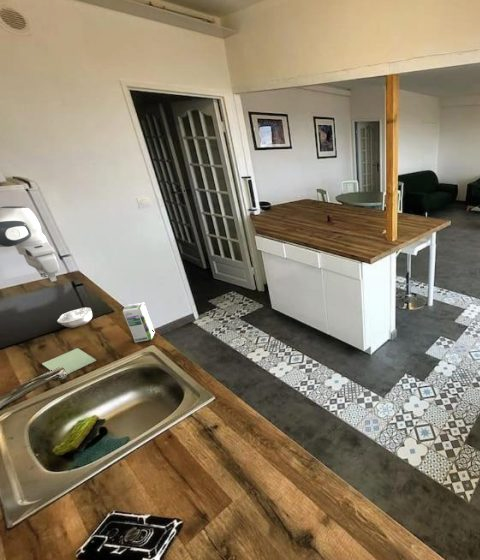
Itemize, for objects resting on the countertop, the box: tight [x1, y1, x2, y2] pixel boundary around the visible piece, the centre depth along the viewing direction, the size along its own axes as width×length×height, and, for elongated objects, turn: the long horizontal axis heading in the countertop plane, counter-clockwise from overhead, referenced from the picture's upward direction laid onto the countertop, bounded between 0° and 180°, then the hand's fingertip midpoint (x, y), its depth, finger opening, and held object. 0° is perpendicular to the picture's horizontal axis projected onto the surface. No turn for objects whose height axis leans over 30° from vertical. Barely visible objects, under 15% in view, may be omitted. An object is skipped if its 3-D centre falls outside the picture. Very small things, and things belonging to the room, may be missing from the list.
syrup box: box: [122, 301, 156, 344], centre depth 121 cm, size 6×6×14 cm
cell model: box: [56, 307, 93, 329], centre depth 130 cm, size 10×12×7 cm
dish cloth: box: [41, 347, 97, 379], centre depth 110 cm, size 10×14×1 cm
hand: (49, 278), depth 127 cm, fingers open, 6 cm apart
